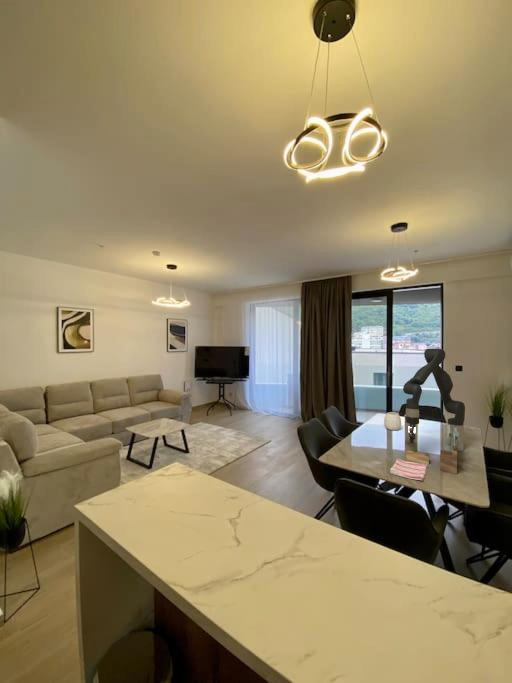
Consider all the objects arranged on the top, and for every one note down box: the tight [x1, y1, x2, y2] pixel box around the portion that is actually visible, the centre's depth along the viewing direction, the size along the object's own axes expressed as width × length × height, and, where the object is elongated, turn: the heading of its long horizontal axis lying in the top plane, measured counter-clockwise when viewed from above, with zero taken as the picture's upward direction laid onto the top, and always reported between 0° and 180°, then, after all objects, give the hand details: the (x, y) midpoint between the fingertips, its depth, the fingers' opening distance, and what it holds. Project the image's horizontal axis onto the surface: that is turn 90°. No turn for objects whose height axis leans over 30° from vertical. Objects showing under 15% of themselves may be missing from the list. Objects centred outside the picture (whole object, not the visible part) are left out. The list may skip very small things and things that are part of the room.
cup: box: [383, 411, 402, 431], centre depth 252 cm, size 13×13×14 cm
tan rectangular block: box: [406, 450, 430, 465], centre depth 185 cm, size 4×12×6 cm, turn 57°
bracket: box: [443, 424, 459, 451], centre depth 187 cm, size 28×7×20 cm, turn 150°
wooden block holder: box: [439, 446, 458, 475], centre depth 173 cm, size 11×8×14 cm
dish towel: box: [389, 458, 429, 482], centre depth 172 cm, size 17×23×4 cm
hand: (412, 441), depth 187 cm, fingers open, 8 cm apart
